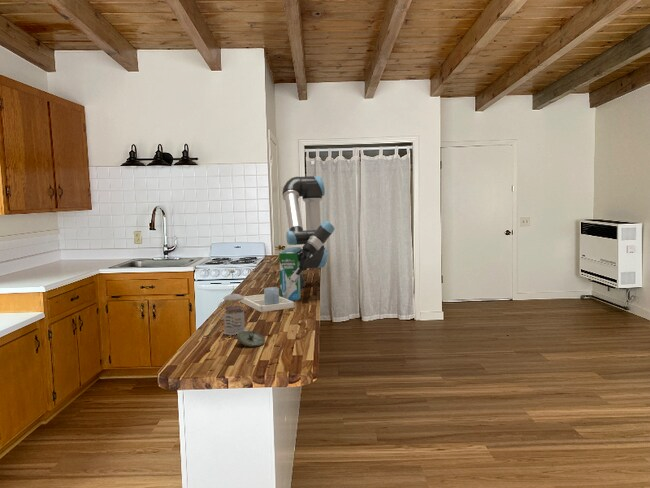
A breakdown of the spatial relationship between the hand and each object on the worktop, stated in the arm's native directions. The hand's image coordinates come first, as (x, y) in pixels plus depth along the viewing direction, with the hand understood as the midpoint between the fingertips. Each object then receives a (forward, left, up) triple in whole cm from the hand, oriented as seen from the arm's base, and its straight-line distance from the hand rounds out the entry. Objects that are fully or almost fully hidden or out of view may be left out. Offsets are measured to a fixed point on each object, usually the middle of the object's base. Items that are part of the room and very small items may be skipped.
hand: (286, 277), depth 267 cm
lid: (+65, -43, -12) cm, 78 cm away
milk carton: (0, +2, -12) cm, 12 cm away
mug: (+15, -14, -11) cm, 23 cm away
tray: (+7, -14, -12) cm, 20 cm away
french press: (+44, -43, -12) cm, 63 cm away
